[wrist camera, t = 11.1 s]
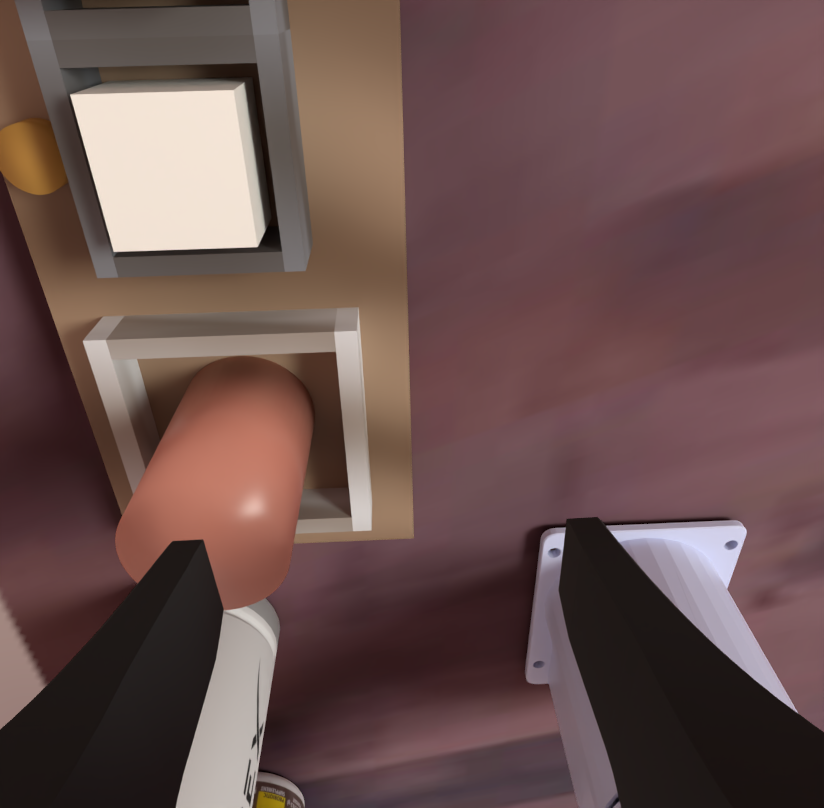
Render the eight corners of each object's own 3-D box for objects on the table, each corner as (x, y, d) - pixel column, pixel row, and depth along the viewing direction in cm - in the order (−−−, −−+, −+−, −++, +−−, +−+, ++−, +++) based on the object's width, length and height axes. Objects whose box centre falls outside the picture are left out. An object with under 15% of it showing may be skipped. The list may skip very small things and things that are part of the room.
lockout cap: (317, 464, 21) (295, 611, 16) (194, 462, 21) (132, 610, 16) (312, 357, 19) (285, 488, 14) (175, 354, 19) (98, 485, 14)
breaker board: (412, 510, 25) (416, 580, 22) (147, 521, 24) (115, 594, 22) (391, -260, 13) (393, -330, 10) (-105, -252, 13) (-245, -321, 10)
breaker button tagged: (271, 217, 16) (257, 247, 15) (144, 221, 16) (113, 251, 15) (252, 77, 15) (233, 90, 13) (109, 81, 15) (70, 94, 13)
